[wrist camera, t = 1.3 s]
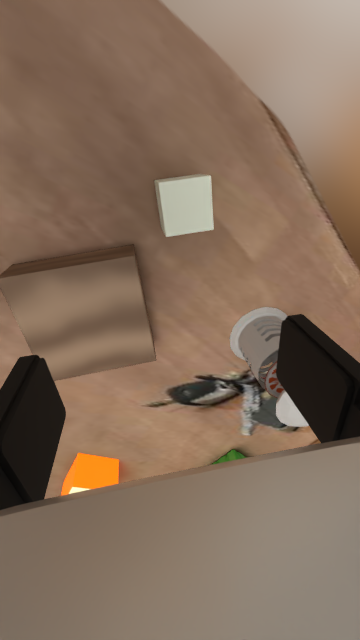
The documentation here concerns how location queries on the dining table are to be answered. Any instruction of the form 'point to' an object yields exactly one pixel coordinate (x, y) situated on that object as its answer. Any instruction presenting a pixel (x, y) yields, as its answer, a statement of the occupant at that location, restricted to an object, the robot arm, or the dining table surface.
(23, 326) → the walnut block
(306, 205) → the dining table surface
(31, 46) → the dining table surface
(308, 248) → the dining table surface
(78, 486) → the orange juice
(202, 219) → the sage cube
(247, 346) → the french press
